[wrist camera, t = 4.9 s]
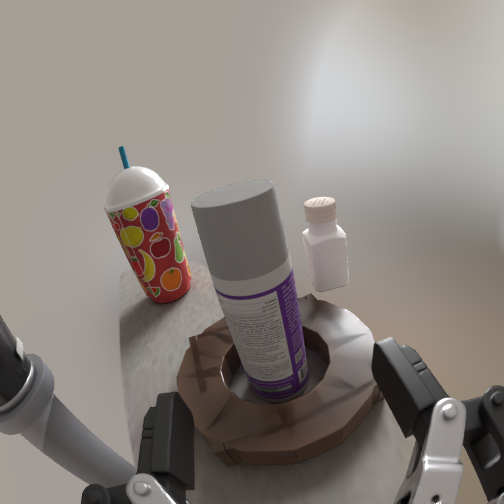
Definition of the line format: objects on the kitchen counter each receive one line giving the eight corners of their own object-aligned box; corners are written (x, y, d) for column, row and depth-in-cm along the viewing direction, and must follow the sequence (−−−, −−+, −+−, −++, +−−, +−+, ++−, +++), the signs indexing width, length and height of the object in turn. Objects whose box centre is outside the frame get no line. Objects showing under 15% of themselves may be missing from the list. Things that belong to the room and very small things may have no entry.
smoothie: (155, 279, 42) (111, 152, 33) (205, 271, 40) (164, 132, 32) (134, 312, 34) (75, 164, 26) (191, 307, 33) (134, 139, 24)
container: (280, 350, 24) (240, 178, 17) (321, 374, 20) (295, 180, 14) (239, 381, 22) (174, 204, 15) (277, 413, 18) (218, 212, 12)
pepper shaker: (350, 286, 30) (345, 203, 26) (316, 295, 30) (305, 211, 26) (339, 269, 33) (331, 193, 29) (307, 277, 33) (295, 200, 29)
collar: (208, 491, 13) (193, 480, 12) (180, 350, 26) (171, 331, 25) (413, 400, 15) (421, 380, 14) (320, 299, 29) (318, 279, 28)
